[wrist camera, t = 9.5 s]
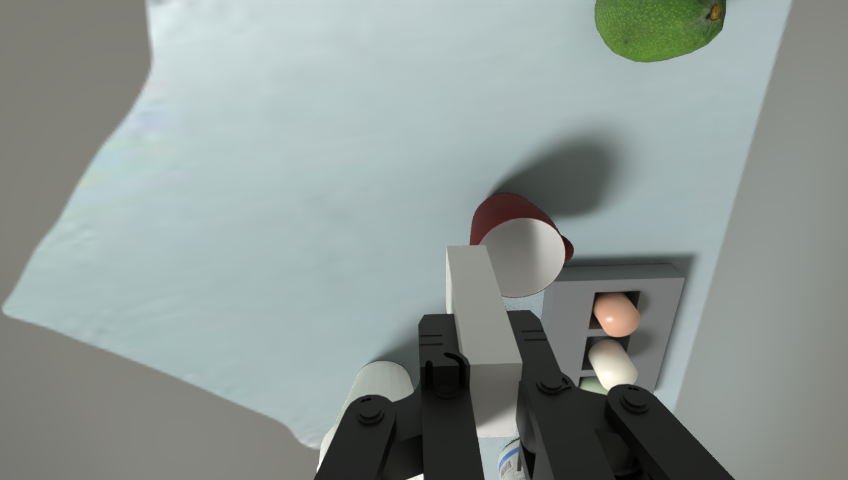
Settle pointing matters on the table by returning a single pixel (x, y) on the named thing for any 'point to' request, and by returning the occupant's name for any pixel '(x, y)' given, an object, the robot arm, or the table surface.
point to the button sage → (592, 384)
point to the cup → (374, 392)
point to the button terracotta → (615, 313)
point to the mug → (519, 244)
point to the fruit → (658, 26)
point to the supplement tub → (510, 463)
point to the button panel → (580, 329)
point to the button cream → (612, 364)
